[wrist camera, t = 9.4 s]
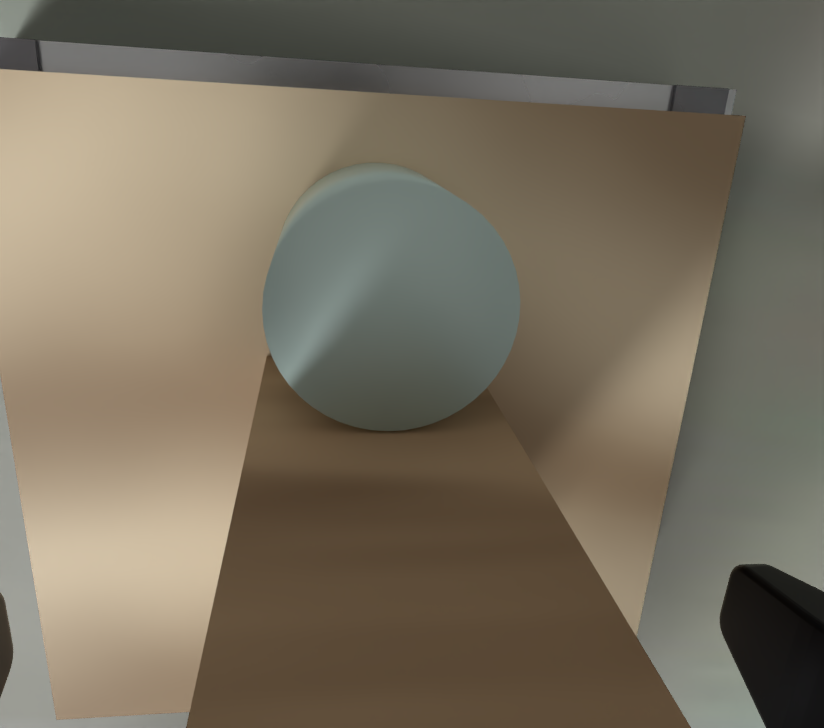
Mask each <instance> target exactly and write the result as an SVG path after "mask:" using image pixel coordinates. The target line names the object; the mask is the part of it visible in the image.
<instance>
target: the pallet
mask: <svg viewBox="0 0 824 728" xmlns="http://www.w3.org/2000/svg"><path fill="white" fill-rule="evenodd" d="M745 117H746V116H739V115H723V114H707V113H692V112H676V111H660V110H644V109H628V108H612V107H596V106H580V105H564V104H548V103H533V102H517V101H501V100H485V99H469V98H453V97H437V96H421V95H405V94H389V93H373V92H358V91H342V90H326V89H310V88H294V87H278V86H262V85H246V84H230V83H214V82H198V81H183V80H167V79H151V78H135V77H119V76H103V75H87V74H71V73H55V72H39V71H24V70H8V69H0V376H1V382H2V388H3V394H4V400H5V406H6V412H7V419H8V425H9V431H10V437H11V443H12V449H13V455H14V462H15V468H16V474H17V480H18V486H19V492H20V498H21V505H22V511H23V517H24V523H25V529H26V535H27V541H28V548H29V554H30V560H31V566H32V572H33V578H34V584H35V591H36V597H37V603H38V609H39V615H40V621H41V627H42V634H43V640H44V646H45V652H46V658H47V664H48V670H49V677H50V683H51V689H52V695H53V701H54V707H55V713H56V720H61V719H78V718H95V717H111V716H128V715H145V714H162V713H179V712H189V717H188V722H187V726H186V728H691V727H690V725H689V724H688V722H687V720H686V719H685V717H684V715H683V714H682V712H681V710H680V709H679V707H678V705H677V704H676V702H675V700H674V699H673V697H672V695H671V694H670V692H669V690H668V689H667V687H666V685H665V684H664V682H663V680H662V679H661V677H660V675H659V674H658V672H657V670H656V669H655V667H654V665H653V664H652V662H651V660H650V659H649V657H648V655H647V654H646V652H645V650H644V649H643V647H642V645H641V644H640V642H639V640H638V639H637V632H638V627H639V622H640V618H641V613H642V608H643V603H644V599H645V594H646V589H647V584H648V580H649V575H650V570H651V565H652V561H653V556H654V551H655V546H656V541H657V537H658V532H659V527H660V522H661V518H662V513H663V508H664V503H665V499H666V494H667V489H668V484H669V480H670V475H671V470H672V465H673V460H674V456H675V451H676V446H677V441H678V437H679V432H680V427H681V422H682V418H683V413H684V408H685V403H686V398H687V394H688V389H689V384H690V379H691V375H692V370H693V365H694V360H695V356H696V351H697V346H698V341H699V337H700V332H701V327H702V322H703V317H704V313H705V308H706V303H707V298H708V294H709V289H710V284H711V279H712V275H713V270H714V265H715V260H716V256H717V251H718V246H719V241H720V236H721V232H722V227H723V222H724V217H725V213H726V208H727V203H728V198H729V194H730V189H731V184H732V179H733V175H734V170H735V165H736V160H737V155H738V151H739V146H740V141H741V136H742V132H743V127H744V122H745ZM362 163H388V164H395V165H399V166H402V167H406V168H409V169H411V170H413V171H416V172H418V173H420V174H422V175H423V176H425V177H427V178H428V179H430V180H432V181H433V182H435V183H436V184H438V185H440V186H441V187H443V188H444V189H446V190H447V191H449V192H451V193H452V194H454V195H455V196H457V197H459V198H460V199H462V200H463V201H465V202H466V203H468V204H469V205H471V206H472V207H473V208H474V209H476V210H477V211H478V212H479V213H481V214H482V215H483V216H484V217H485V218H486V220H487V221H488V222H489V223H490V224H491V225H492V226H493V227H494V228H495V230H496V231H497V233H498V234H499V236H500V237H501V238H502V240H503V241H504V243H505V245H506V247H507V249H508V251H509V253H510V255H511V258H512V261H513V264H514V266H515V269H516V273H517V278H518V283H519V290H520V316H519V323H518V328H517V333H516V337H515V340H514V343H513V346H512V348H511V351H510V353H509V355H508V357H507V359H506V361H505V363H504V365H503V366H502V368H501V370H500V371H499V373H498V374H497V376H496V377H495V378H494V380H493V381H492V382H491V383H490V384H489V386H488V387H487V388H486V389H485V390H484V391H483V392H482V393H481V394H480V395H479V396H478V397H477V398H476V399H475V400H473V401H472V402H471V403H469V404H468V405H467V406H465V407H464V408H463V409H461V410H459V411H458V412H456V413H454V414H452V415H451V416H449V417H447V418H445V419H442V420H440V421H438V422H435V423H433V424H429V425H426V426H422V427H419V428H414V429H408V430H401V431H376V430H368V429H362V428H357V427H353V426H350V425H347V424H344V423H341V422H339V421H336V420H334V419H332V418H330V417H328V416H326V415H324V414H323V413H321V412H319V411H318V410H316V409H315V408H313V407H312V406H310V405H309V404H308V403H307V402H306V401H304V400H303V399H302V398H301V397H300V396H299V395H298V394H297V393H296V392H295V391H294V390H293V389H292V388H291V387H290V386H289V384H288V383H287V381H286V380H285V379H284V377H283V376H282V374H281V373H280V371H279V370H278V368H277V366H276V364H275V362H274V360H273V358H272V355H271V353H270V350H269V347H268V344H267V341H266V337H265V332H264V327H263V315H262V303H263V291H264V286H265V282H266V277H267V273H268V270H269V267H270V264H271V261H272V258H273V255H274V252H275V249H276V246H277V243H278V240H279V237H280V234H281V231H282V228H283V226H284V223H285V220H286V218H287V216H288V215H289V213H290V211H291V209H292V208H293V206H294V205H295V203H296V202H297V200H298V199H299V198H300V197H301V196H302V195H303V194H304V193H305V191H306V190H307V189H308V188H310V187H311V186H312V185H313V184H315V183H316V182H317V181H318V180H320V179H322V178H323V177H325V176H326V175H328V174H330V173H332V172H334V171H337V170H339V169H341V168H344V167H348V166H351V165H355V164H362Z"/></svg>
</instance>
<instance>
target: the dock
mask: <svg viewBox="0 0 824 728" xmlns="http://www.w3.org/2000/svg"><path fill="white" fill-rule="evenodd" d="M0 69H8V70H24V71H39V72H55V73H71V74H87V75H103V76H119V77H135V78H151V79H167V80H183V81H198V82H214V83H230V84H246V85H262V86H278V87H294V88H310V89H326V90H342V91H358V92H373V93H389V94H405V95H421V96H437V97H453V98H469V99H485V100H501V101H517V102H533V103H548V104H564V105H580V106H596V107H612V108H628V109H644V110H660V111H676V112H692V113H707V114H723V115H732V110H733V105H734V101H735V96H736V91H737V90H733V89H724V88H710V87H696V86H682V85H662V84H648V83H634V82H620V81H606V80H592V79H577V78H563V77H549V76H535V75H521V74H507V73H493V72H478V71H464V70H450V69H436V68H422V67H408V66H394V65H379V64H365V63H351V62H337V61H323V60H309V59H295V58H280V57H266V56H252V55H238V54H224V53H210V52H196V51H181V50H167V49H153V48H139V47H125V46H111V45H97V44H82V43H68V42H54V41H40V40H32V39H18V38H4V37H0Z"/></svg>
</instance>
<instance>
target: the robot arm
mask: <svg viewBox="0 0 824 728" xmlns="http://www.w3.org/2000/svg"><path fill="white" fill-rule="evenodd" d="M720 627H721V631H722V634H723V637H724V639H725V641H726V643H727V645H728V648H729V650H730V652H731V654H732V656H733V658H734V660H735V663H736V665H737V667H738V669H739V671H740V673H741V675H742V677H743V680H744V682H745V684H746V686H747V688H748V690H749V692H750V695H751V697H752V699H753V701H754V703H755V705H756V707H757V709H758V712H759V714H760V716H761V718H762V720H763V722H764V724H765V727H766V728H824V592H823V591H821V590H819V589H817V588H815V587H813V586H811V585H809V584H807V583H805V582H803V581H801V580H799V579H797V578H795V577H793V576H791V575H789V574H787V573H784V572H782V571H780V570H778V569H776V568H774V567H772V566H770V565H766V564H746V565H738V566H736V567H735V568H734V569H733V570H732V572H731V574H730V578H729V582H728V586H727V589H726V593H725V597H724V601H723V605H722V609H721V612H720ZM12 659H13V643H12V638H11V632H10V627H9V621H8V616H7V610H6V605H5V600H4V597H3V596H2V594H1V593H0V697H1V694H2V691H3V689H4V686H5V683H6V680H7V677H8V674H9V672H10V668H11V664H12Z"/></svg>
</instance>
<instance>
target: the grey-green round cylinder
mask: <svg viewBox="0 0 824 728" xmlns="http://www.w3.org/2000/svg"><path fill="white" fill-rule="evenodd" d="M262 315H263V327H264V332H265V337H266V341H267V344H268V347H269V350H270V353H271V355H272V358H273V360H274V362H275V364H276V366H277V368H278V370H279V371H280V373H281V374H282V376H283V377H284V379H285V380H286V381H287V383H288V384H289V386H290V387H291V388H292V389H293V390H294V391H295V392H296V393H297V394H298V395H299V396H300V397H301V398H302V399H303V400H304V401H306V402H307V403H308V404H309V405H310V406H312V407H313V408H315V409H316V410H318V411H319V412H321V413H323V414H324V415H326V416H328V417H330V418H332V419H334V420H336V421H339V422H341V423H344V424H347V425H350V426H353V427H357V428H362V429H368V430H376V431H401V430H408V429H414V428H419V427H422V426H426V425H429V424H433V423H435V422H438V421H440V420H442V419H445V418H447V417H449V416H451V415H452V414H454V413H456V412H458V411H459V410H461V409H463V408H464V407H465V406H467V405H468V404H469V403H471V402H472V401H473V400H475V399H476V398H477V397H478V396H479V395H480V394H481V393H482V392H483V391H484V390H485V389H486V388H487V387H488V386H489V384H490V383H491V382H492V381H493V380H494V378H495V377H496V376H497V374H498V373H499V371H500V370H501V368H502V366H503V365H504V363H505V361H506V359H507V357H508V355H509V353H510V351H511V348H512V346H513V343H514V340H515V337H516V333H517V328H518V323H519V316H520V290H519V283H518V278H517V273H516V269H515V266H514V264H513V261H512V258H511V255H510V253H509V251H508V249H507V247H506V245H505V243H504V241H503V240H502V238H501V237H500V236H499V234H498V233H497V231H496V230H495V228H494V227H493V226H492V225H491V224H490V223H489V222H488V221H487V220H486V218H485V217H484V216H483V215H482V214H481V213H479V212H478V211H477V210H476V209H474V208H473V207H472V206H471V205H469V204H468V203H466V202H465V201H463V200H462V199H460V198H459V197H457V196H455V195H454V194H452V193H451V192H449V191H447V190H446V189H444V188H443V187H441V186H440V185H438V184H436V183H435V182H433V181H432V180H430V179H428V178H427V177H425V176H423V175H422V174H420V173H418V172H416V171H413V170H411V169H409V168H406V167H402V166H399V165H395V164H388V163H362V164H355V165H351V166H348V167H344V168H341V169H339V170H337V171H334V172H332V173H330V174H328V175H326V176H325V177H323V178H322V179H320V180H318V181H317V182H316V183H315V184H313V185H312V186H311V187H310V188H308V189H307V190H306V191H305V193H304V194H303V195H302V196H301V197H300V198H299V199H298V200H297V202H296V203H295V205H294V206H293V208H292V209H291V211H290V213H289V215H288V216H287V218H286V220H285V223H284V226H283V228H282V231H281V234H280V237H279V240H278V243H277V246H276V249H275V252H274V255H273V258H272V261H271V264H270V267H269V270H268V273H267V277H266V282H265V286H264V291H263V303H262Z"/></svg>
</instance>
